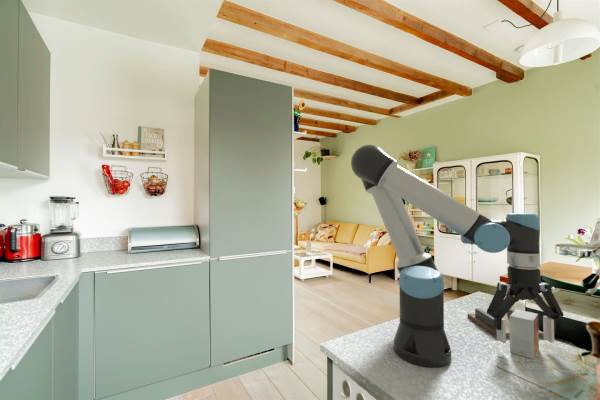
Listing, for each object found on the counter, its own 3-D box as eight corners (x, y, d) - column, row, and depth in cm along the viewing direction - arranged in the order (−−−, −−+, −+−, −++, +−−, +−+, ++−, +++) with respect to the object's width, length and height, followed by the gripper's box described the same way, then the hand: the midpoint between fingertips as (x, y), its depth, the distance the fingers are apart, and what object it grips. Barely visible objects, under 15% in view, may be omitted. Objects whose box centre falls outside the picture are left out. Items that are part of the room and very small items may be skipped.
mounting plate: (496, 337, 90) (496, 323, 90) (467, 317, 106) (467, 305, 106) (544, 337, 90) (544, 323, 90) (508, 317, 106) (508, 305, 106)
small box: (534, 360, 77) (533, 321, 77) (509, 352, 81) (508, 315, 82) (539, 350, 83) (539, 313, 83) (515, 343, 87) (515, 308, 87)
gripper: (488, 270, 79) (490, 347, 78) (579, 269, 78) (581, 346, 78) (472, 264, 86) (473, 334, 86) (555, 263, 86) (557, 334, 86)
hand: (525, 340), depth 82 cm, fingers open, 13 cm apart
